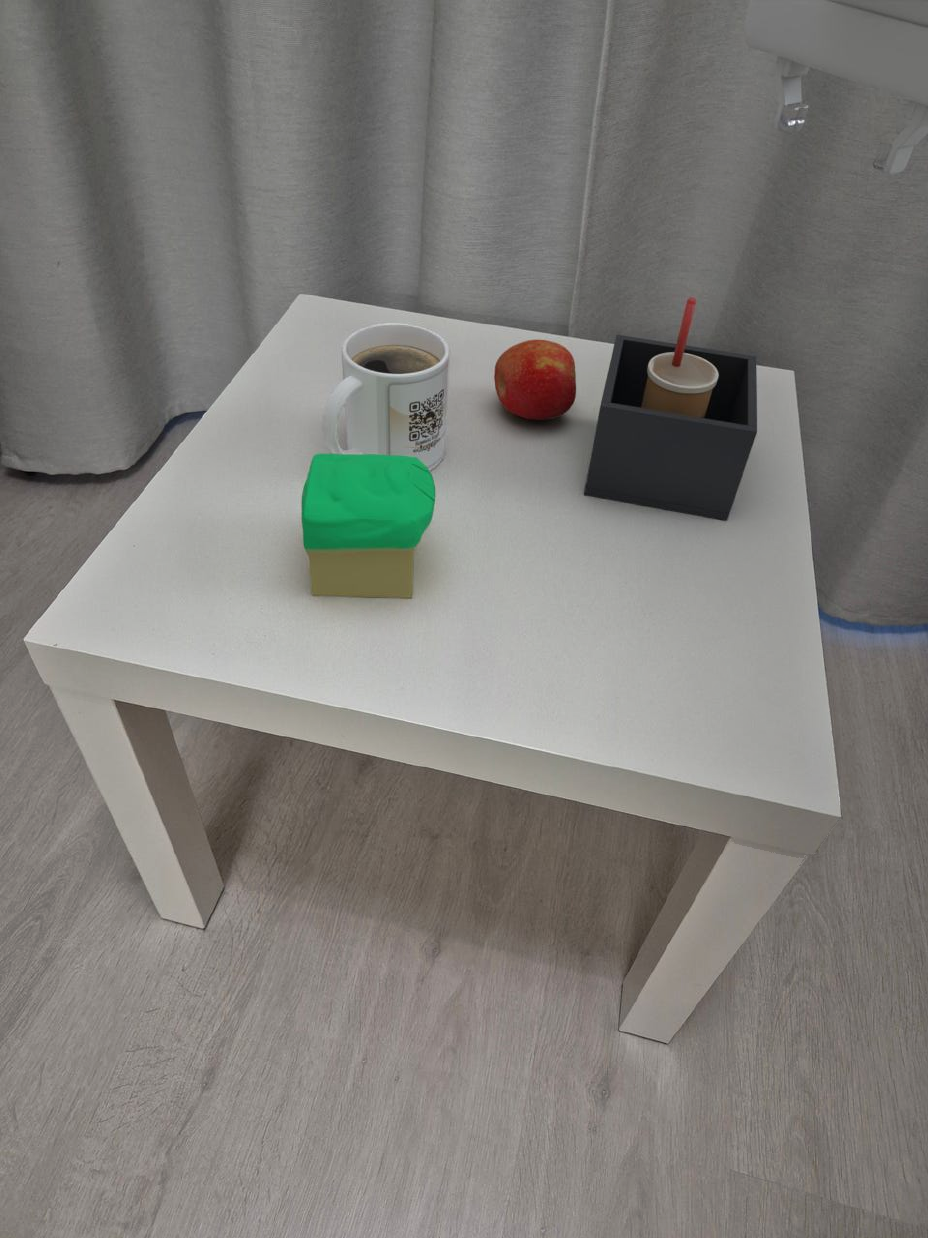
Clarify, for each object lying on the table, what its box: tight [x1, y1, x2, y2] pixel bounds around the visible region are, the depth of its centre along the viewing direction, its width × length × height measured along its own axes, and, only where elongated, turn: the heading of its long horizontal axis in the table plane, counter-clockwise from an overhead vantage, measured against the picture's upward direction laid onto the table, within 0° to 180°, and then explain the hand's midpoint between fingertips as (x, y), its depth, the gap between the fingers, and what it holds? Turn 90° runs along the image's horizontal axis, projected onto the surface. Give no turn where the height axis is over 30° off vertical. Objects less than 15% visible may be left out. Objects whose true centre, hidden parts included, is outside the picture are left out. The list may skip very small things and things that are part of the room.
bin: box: [583, 334, 758, 521], centre depth 84 cm, size 14×14×10 cm
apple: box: [493, 339, 577, 421], centre depth 91 cm, size 8×8×8 cm
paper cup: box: [641, 296, 719, 418], centre depth 81 cm, size 6×6×16 cm
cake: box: [301, 452, 436, 599], centre depth 72 cm, size 10×11×10 cm
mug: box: [322, 322, 450, 472], centre depth 83 cm, size 10×12×11 cm
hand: (835, 149), depth 64 cm, fingers open, 8 cm apart
